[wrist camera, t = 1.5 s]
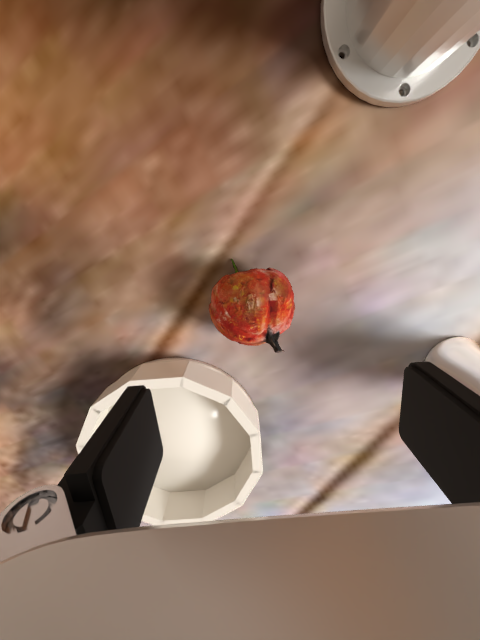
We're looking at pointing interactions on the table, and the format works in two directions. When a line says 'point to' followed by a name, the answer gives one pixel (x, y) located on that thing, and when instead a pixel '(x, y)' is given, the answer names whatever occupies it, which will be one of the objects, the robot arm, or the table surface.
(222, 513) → the fruit bowl
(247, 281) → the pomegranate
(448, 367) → the beer glass
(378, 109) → the table surface
